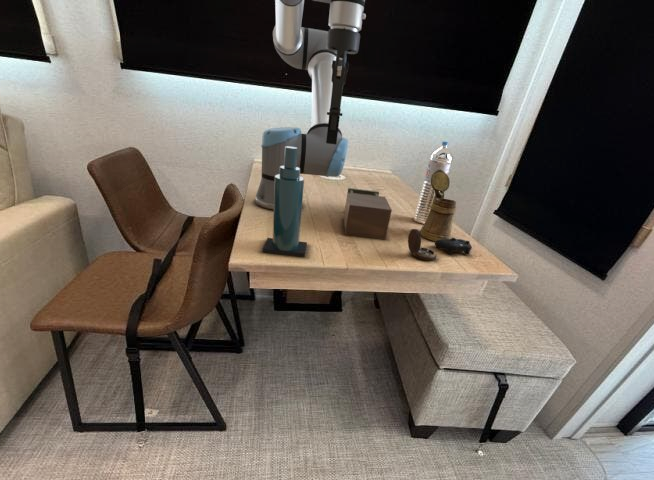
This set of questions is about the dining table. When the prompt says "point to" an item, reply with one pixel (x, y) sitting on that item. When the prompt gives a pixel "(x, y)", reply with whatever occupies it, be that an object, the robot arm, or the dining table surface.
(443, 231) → the wooden mug
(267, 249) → the mat
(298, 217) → the bottle
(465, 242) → the game controller
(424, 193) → the water bottle
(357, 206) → the brown wooden box
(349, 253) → the dining table surface
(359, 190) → the drawer
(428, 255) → the compass
